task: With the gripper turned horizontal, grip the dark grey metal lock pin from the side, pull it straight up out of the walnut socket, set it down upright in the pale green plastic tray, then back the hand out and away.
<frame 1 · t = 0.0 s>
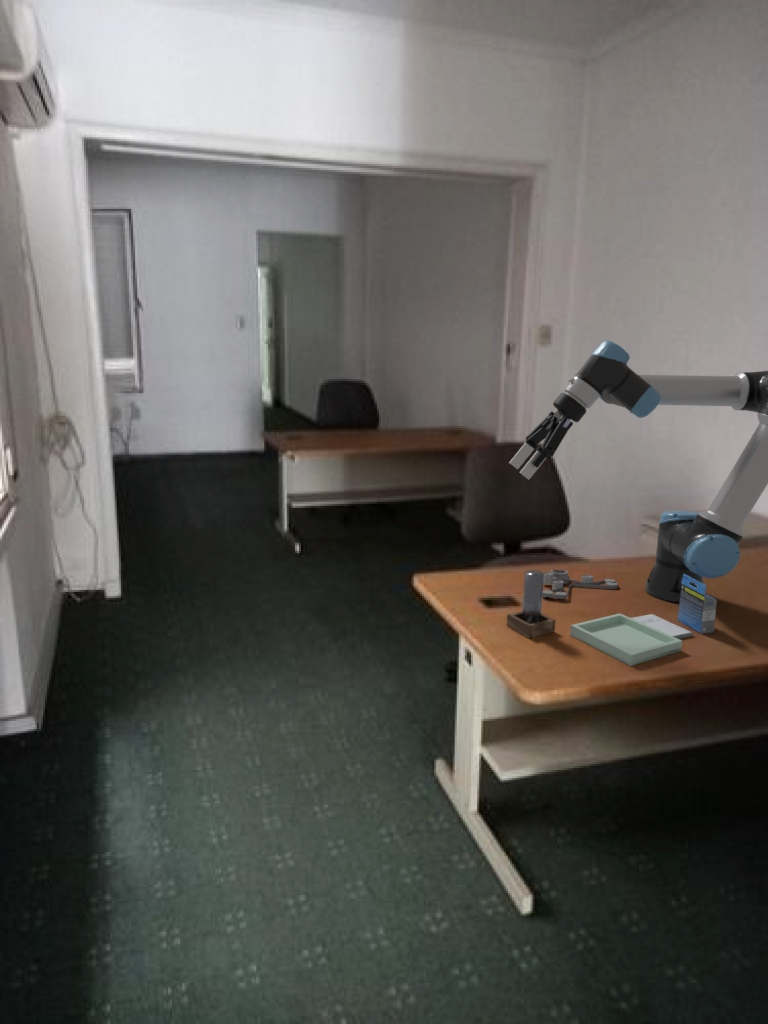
hand: (518, 471, 170), 36 cm above the table, tool tilted 35°, fingers open, 13 cm apart
pin socket: (530, 629, 166), on the table
label tape box: (694, 627, 170), on the table
external hard drive: (658, 631, 168), on the table
tray: (624, 642, 159), on the table
pulley system: (570, 589, 196), on the table
lock pin: (532, 601, 165), in the pin socket
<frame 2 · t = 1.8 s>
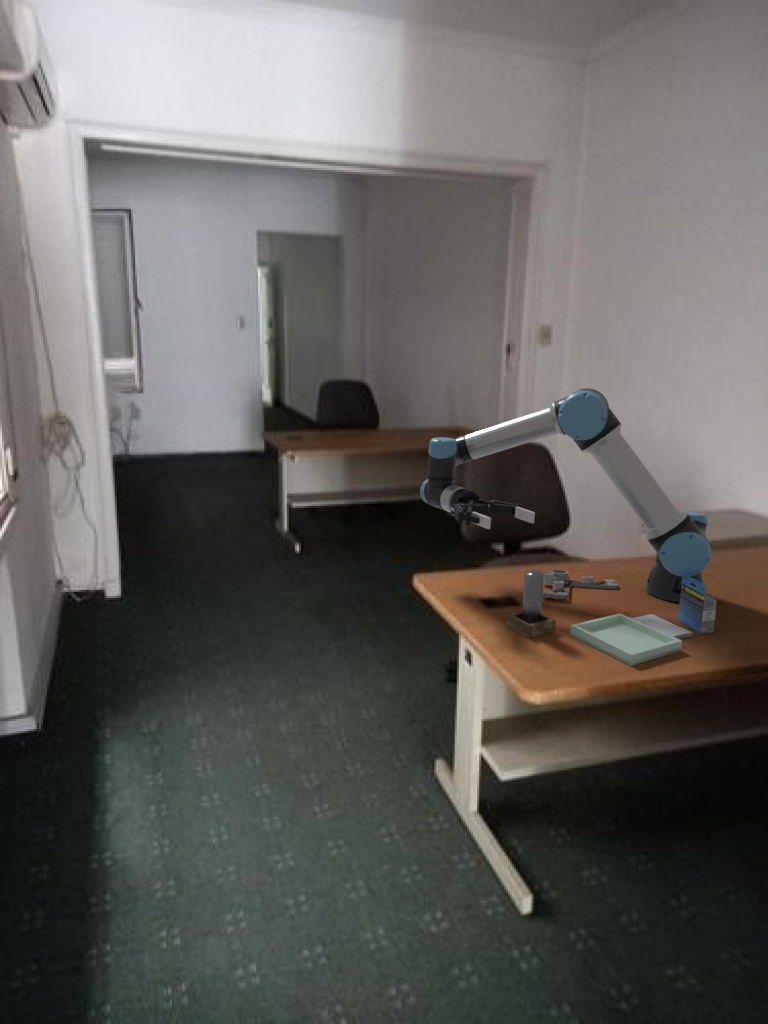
hand: (511, 520, 169), 25 cm above the table, tool horizontal, fingers open, 13 cm apart
nothing on the table moved.
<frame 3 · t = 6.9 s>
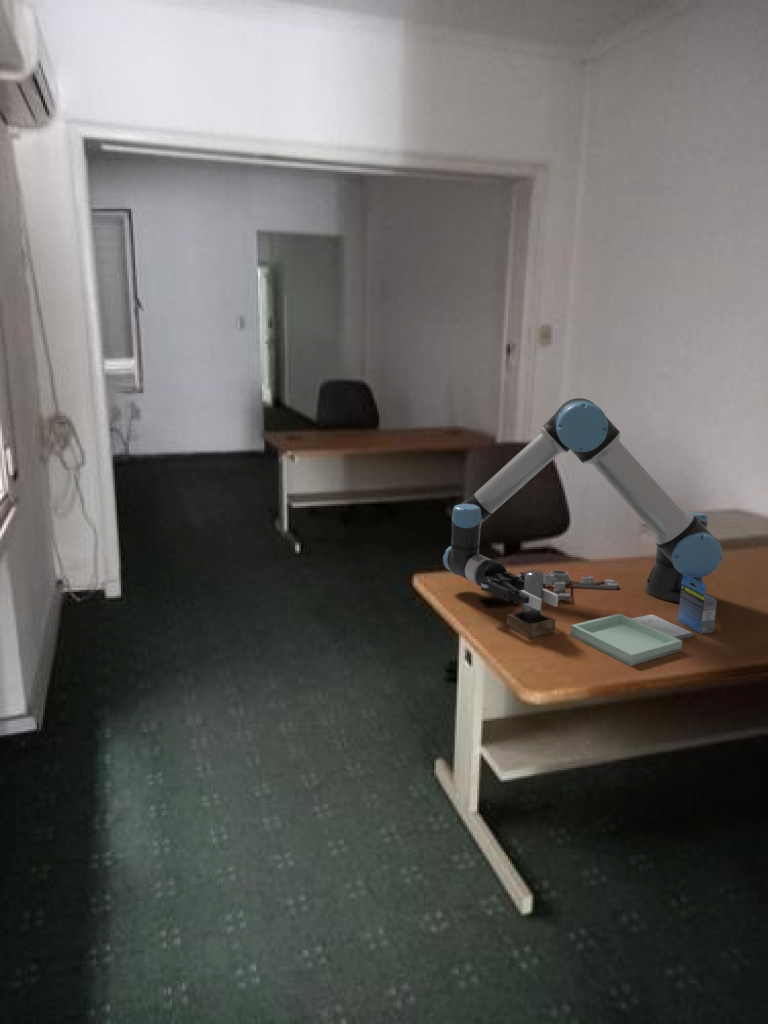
hand: (548, 602, 160), 9 cm above the table, tool horizontal, fingers closed on lock pin, 4 cm apart
lock pin: (532, 601, 165), in the pin socket, touching gripper
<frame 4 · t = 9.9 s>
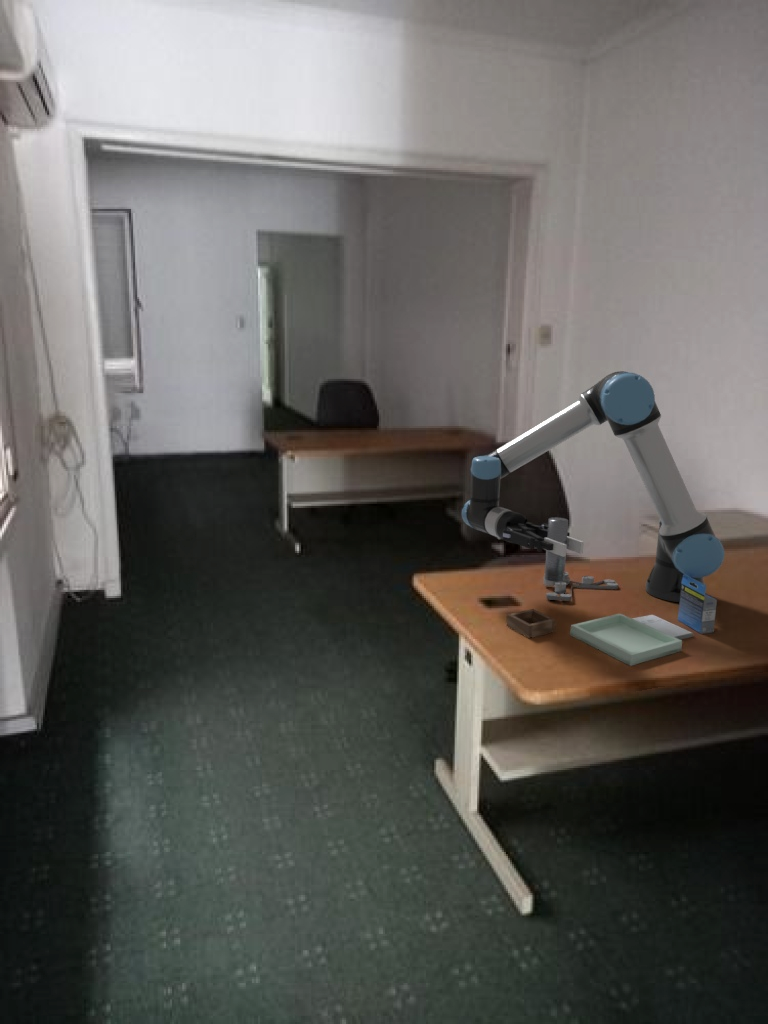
hand: (573, 549, 155), 22 cm above the table, tool horizontal, fingers closed on lock pin, 4 cm apart
lock pin: (556, 549, 160), point 20 cm above the table, touching gripper
when the fingers open (10 cm above the table, at t = 13.3 s): lock pin stays where it is, resting on tray.
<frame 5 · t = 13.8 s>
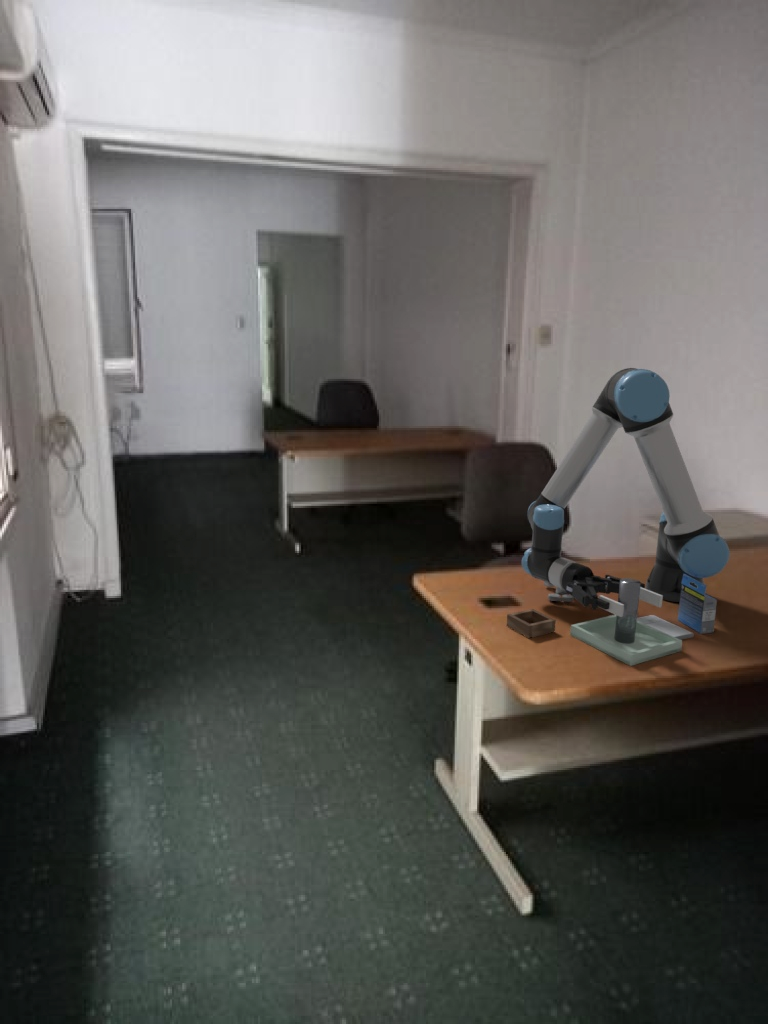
hand: (642, 606, 154), 10 cm above the table, tool horizontal, fingers open, 11 cm apart
lock pin: (627, 610, 158), in the tray, point 8 cm above the table
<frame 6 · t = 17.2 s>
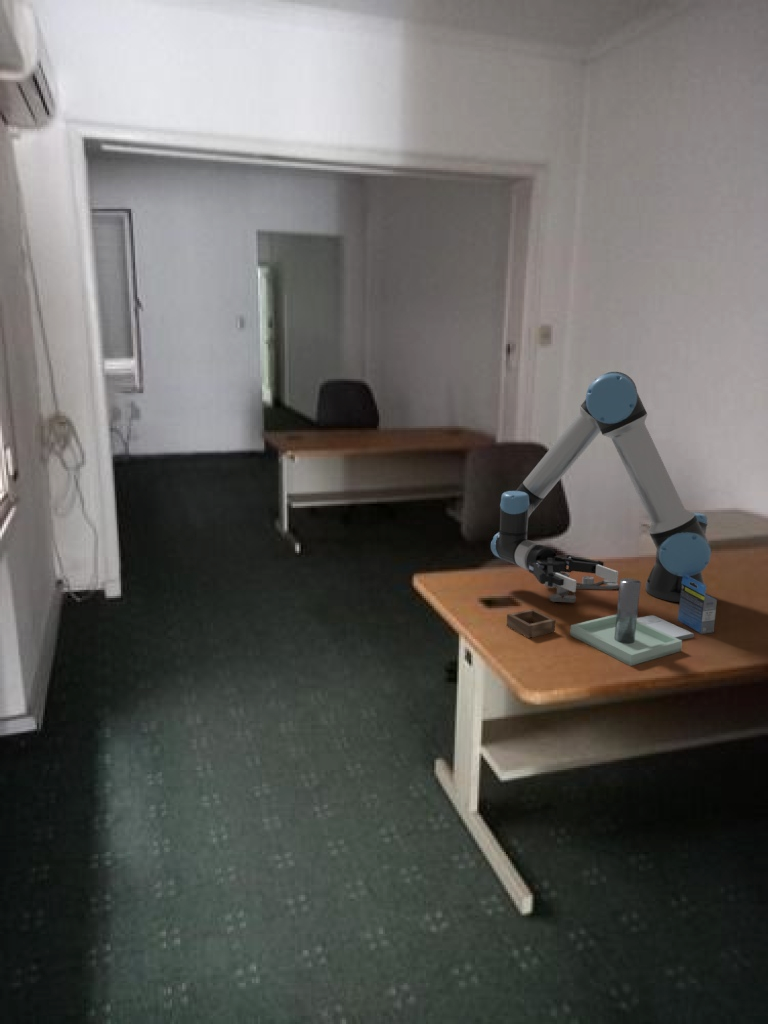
hand: (596, 581, 165), 12 cm above the table, tool horizontal, fingers open, 13 cm apart
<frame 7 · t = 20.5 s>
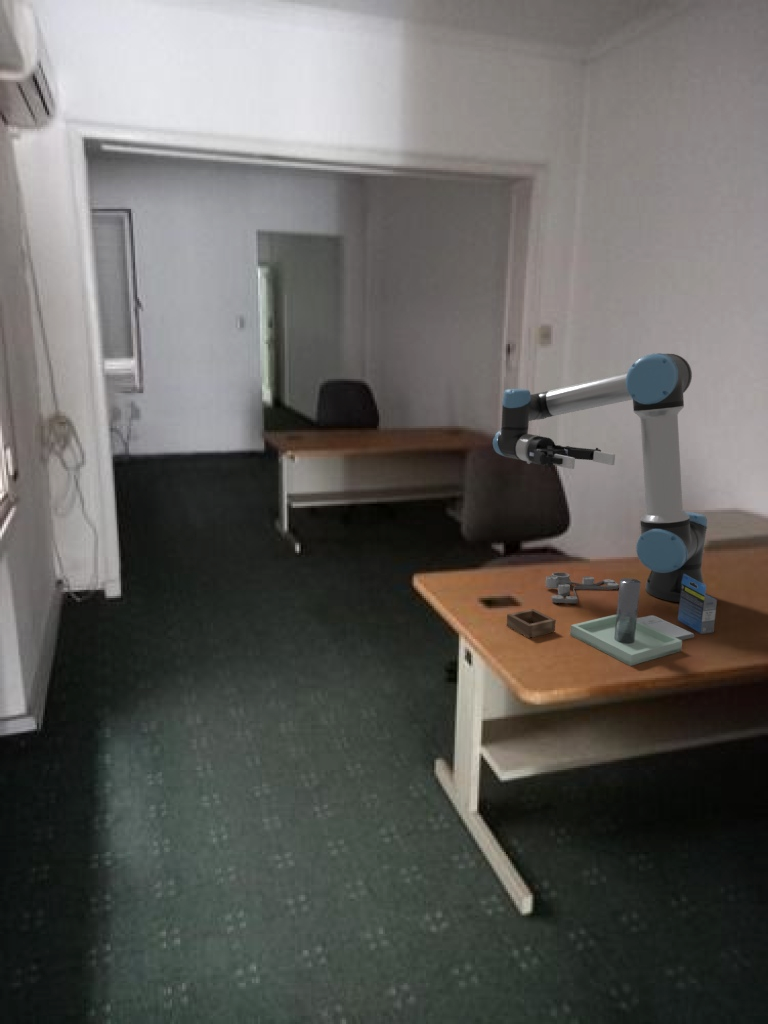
hand: (594, 461, 173), 38 cm above the table, tool horizontal, fingers open, 13 cm apart
at the end: lock pin inside the target area on the tray (0.0 cm from its centre), point 7.8 cm above the tray's base; lock pin tilted 0°; the gripper is holding nothing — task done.
